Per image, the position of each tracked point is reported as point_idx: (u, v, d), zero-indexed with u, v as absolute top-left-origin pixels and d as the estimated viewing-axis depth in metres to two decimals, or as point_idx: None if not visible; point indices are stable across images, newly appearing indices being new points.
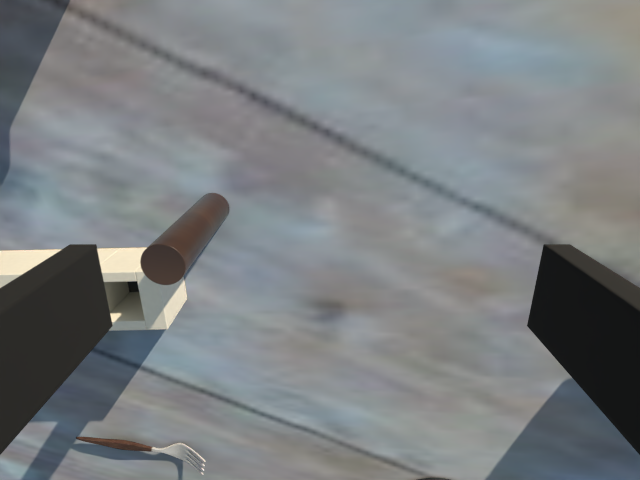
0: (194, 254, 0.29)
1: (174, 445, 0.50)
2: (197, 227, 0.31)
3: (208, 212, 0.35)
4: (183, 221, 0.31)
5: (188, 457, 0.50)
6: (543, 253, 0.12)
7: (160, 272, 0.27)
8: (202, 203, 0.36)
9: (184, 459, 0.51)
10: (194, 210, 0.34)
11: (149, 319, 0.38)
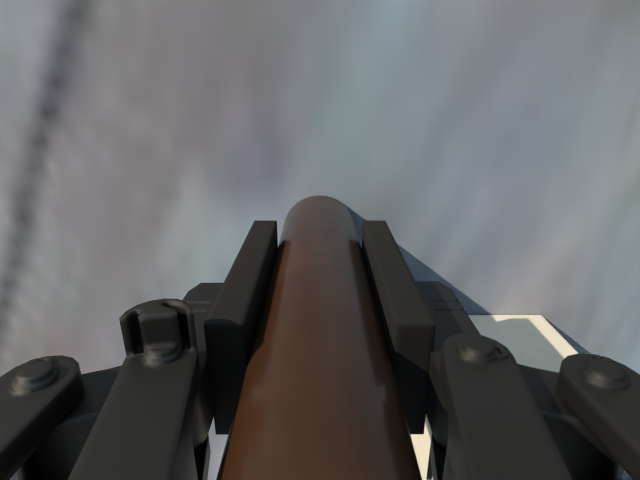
0: (328, 419, 0.05)
1: None
2: (267, 330, 0.08)
3: (279, 262, 0.12)
4: (246, 373, 0.08)
5: None
6: (363, 228, 0.14)
7: None
8: None
9: None
10: None
11: None
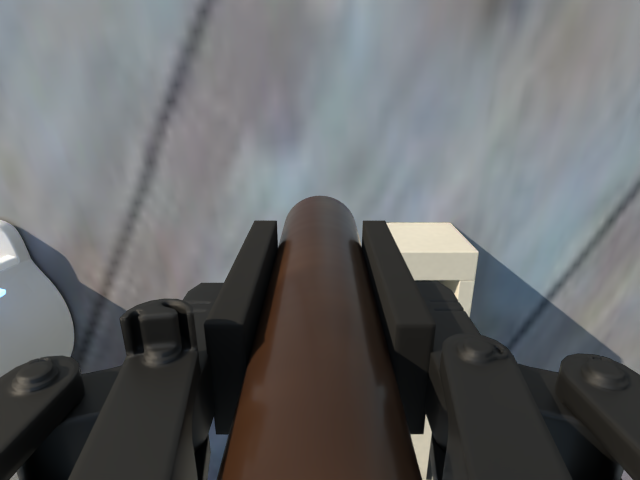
0: (328, 419, 0.05)
1: None
2: (267, 330, 0.08)
3: (279, 262, 0.12)
4: (246, 373, 0.08)
5: None
6: (363, 228, 0.14)
7: None
8: None
9: None
10: None
11: (458, 274, 0.26)
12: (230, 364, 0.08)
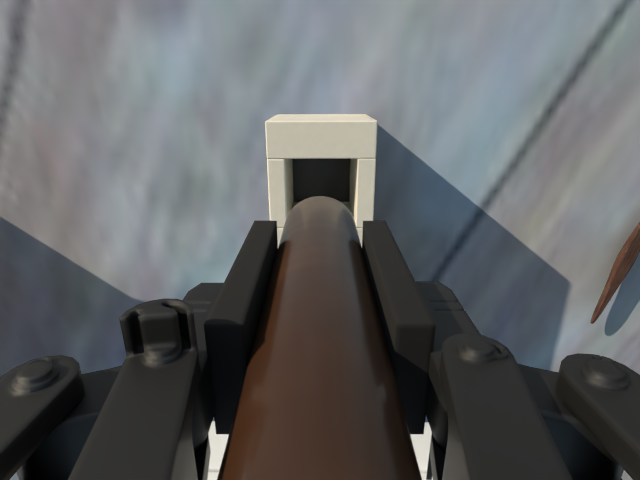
0: (328, 420, 0.05)
1: None
2: (267, 331, 0.08)
3: (279, 262, 0.12)
4: (246, 374, 0.08)
5: None
6: (363, 228, 0.14)
7: None
8: None
9: None
10: None
11: (355, 149, 0.22)
12: (230, 364, 0.08)
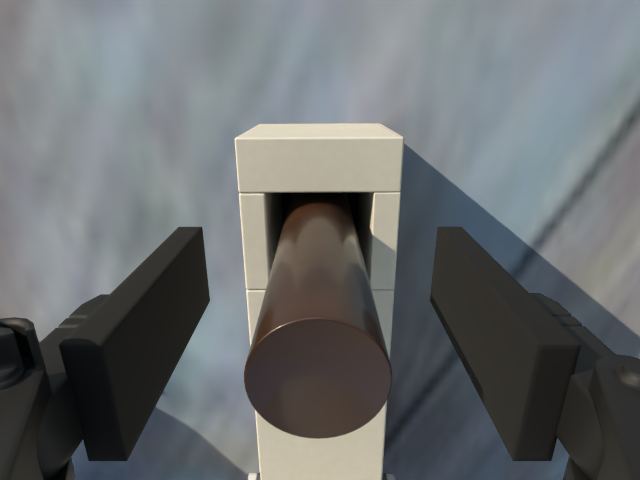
0: (323, 272, 0.10)
1: None
2: (284, 246, 0.12)
3: (289, 215, 0.16)
4: None
5: None
6: (437, 234, 0.13)
7: (345, 391, 0.08)
8: None
9: None
10: None
11: (370, 179, 0.15)
12: (93, 387, 0.07)
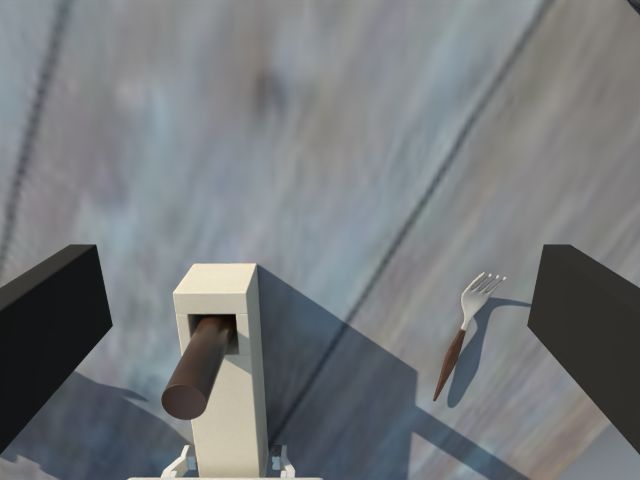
0: (192, 364, 0.29)
1: (463, 303, 0.40)
2: (188, 346, 0.31)
3: (200, 321, 0.35)
4: None
5: (483, 290, 0.39)
6: (543, 253, 0.12)
7: (192, 405, 0.27)
8: None
9: (486, 295, 0.39)
10: None
11: (233, 309, 0.34)
12: None
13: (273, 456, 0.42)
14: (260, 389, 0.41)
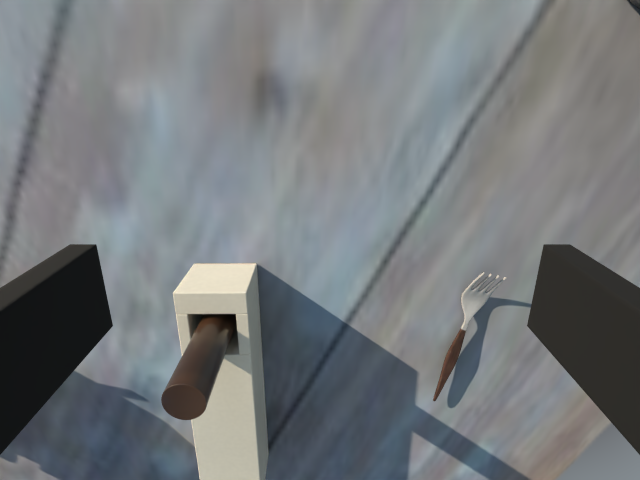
0: (192, 364, 0.29)
1: (463, 303, 0.40)
2: (188, 346, 0.31)
3: (200, 321, 0.35)
4: None
5: (483, 290, 0.39)
6: (543, 253, 0.12)
7: (192, 405, 0.27)
8: None
9: (486, 295, 0.39)
10: None
11: (233, 309, 0.34)
12: None
13: None
14: (260, 389, 0.41)
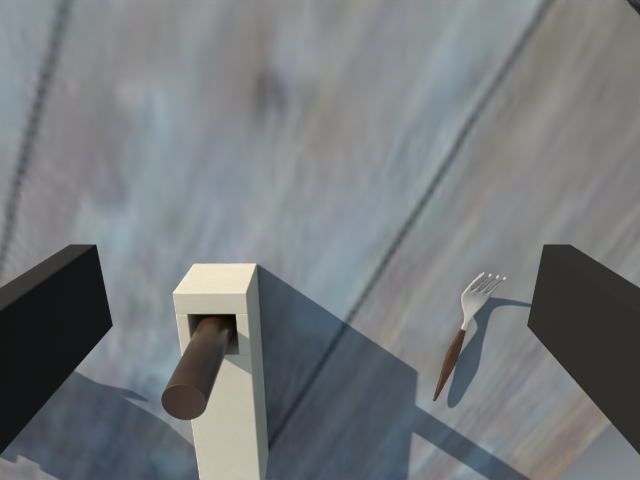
0: (192, 364, 0.29)
1: (463, 303, 0.40)
2: (188, 346, 0.31)
3: (200, 321, 0.35)
4: None
5: (483, 290, 0.39)
6: (543, 253, 0.12)
7: (192, 405, 0.27)
8: None
9: (486, 295, 0.39)
10: None
11: (233, 309, 0.34)
12: None
13: None
14: (260, 389, 0.41)
